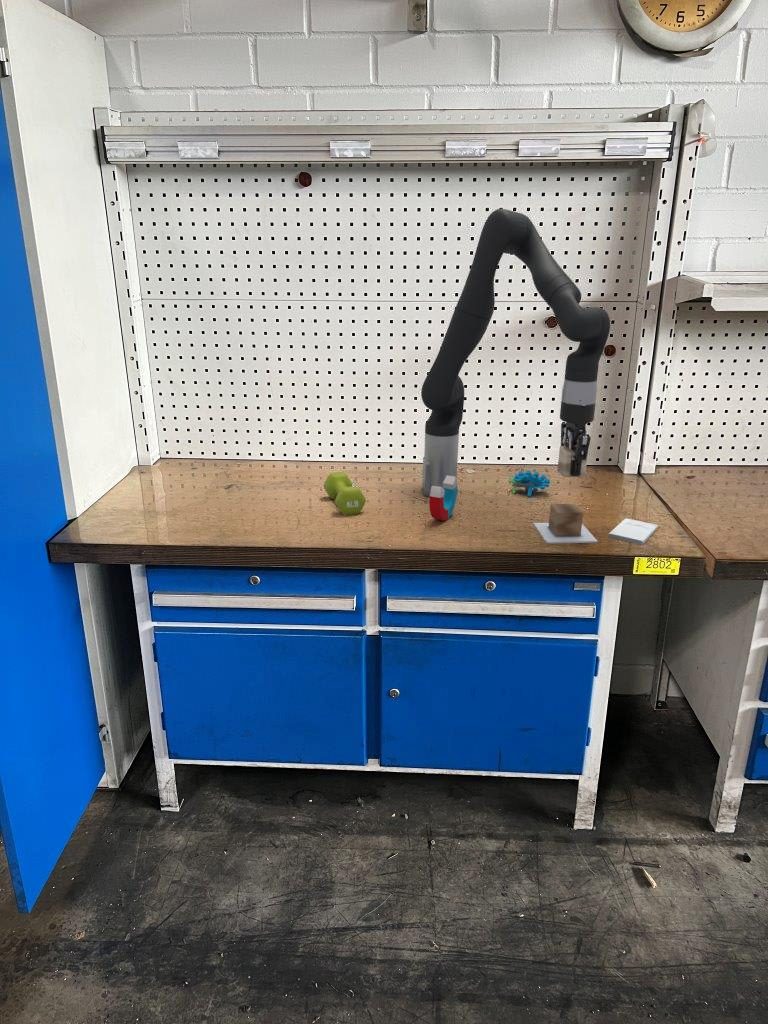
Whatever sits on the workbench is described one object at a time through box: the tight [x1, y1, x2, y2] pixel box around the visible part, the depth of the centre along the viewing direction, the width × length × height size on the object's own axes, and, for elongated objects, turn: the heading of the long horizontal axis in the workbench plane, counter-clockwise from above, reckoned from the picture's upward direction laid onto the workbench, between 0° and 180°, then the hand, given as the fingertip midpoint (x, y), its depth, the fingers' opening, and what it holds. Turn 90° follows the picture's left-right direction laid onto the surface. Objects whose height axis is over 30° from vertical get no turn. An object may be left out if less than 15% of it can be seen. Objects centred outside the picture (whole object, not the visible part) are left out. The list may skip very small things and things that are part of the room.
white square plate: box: [532, 522, 599, 545], centre depth 167 cm, size 12×12×1 cm
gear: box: [509, 470, 551, 498], centre depth 193 cm, size 11×6×10 cm
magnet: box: [428, 475, 458, 522], centre depth 174 cm, size 12×3×10 cm, turn 152°
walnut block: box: [548, 503, 584, 537], centre depth 166 cm, size 6×6×6 cm
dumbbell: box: [323, 471, 367, 516], centre depth 183 cm, size 16×8×7 cm, turn 18°
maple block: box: [557, 445, 589, 478], centre depth 161 cm, size 5×5×6 cm
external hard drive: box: [607, 518, 659, 546], centre depth 168 cm, size 2×8×12 cm
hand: (571, 471), depth 162 cm, fingers closed on maple block, 5 cm apart
